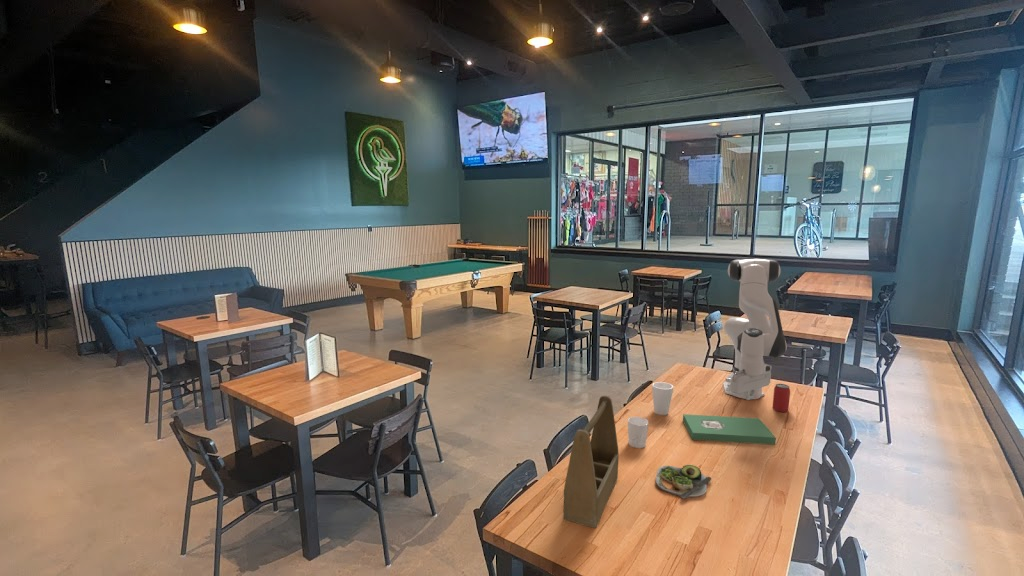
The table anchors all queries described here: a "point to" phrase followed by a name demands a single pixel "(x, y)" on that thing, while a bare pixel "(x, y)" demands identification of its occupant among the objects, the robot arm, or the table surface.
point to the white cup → (637, 431)
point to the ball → (713, 424)
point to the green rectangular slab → (728, 429)
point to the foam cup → (662, 397)
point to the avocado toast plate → (683, 480)
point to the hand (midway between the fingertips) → (749, 399)
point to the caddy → (592, 468)
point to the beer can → (781, 398)
